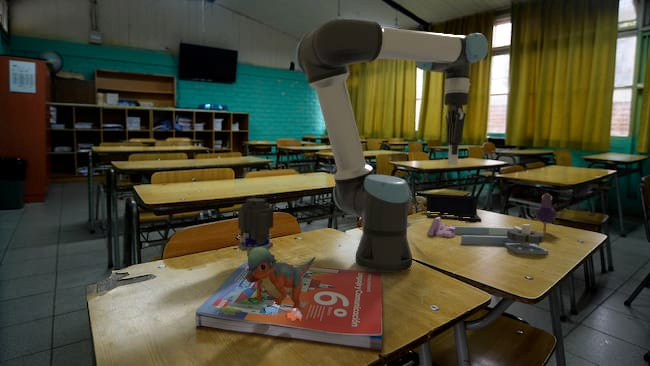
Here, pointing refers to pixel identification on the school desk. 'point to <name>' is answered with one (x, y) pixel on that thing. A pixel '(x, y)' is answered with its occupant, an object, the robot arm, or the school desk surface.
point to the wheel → (526, 236)
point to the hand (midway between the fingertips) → (452, 164)
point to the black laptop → (453, 207)
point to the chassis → (499, 238)
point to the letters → (440, 229)
